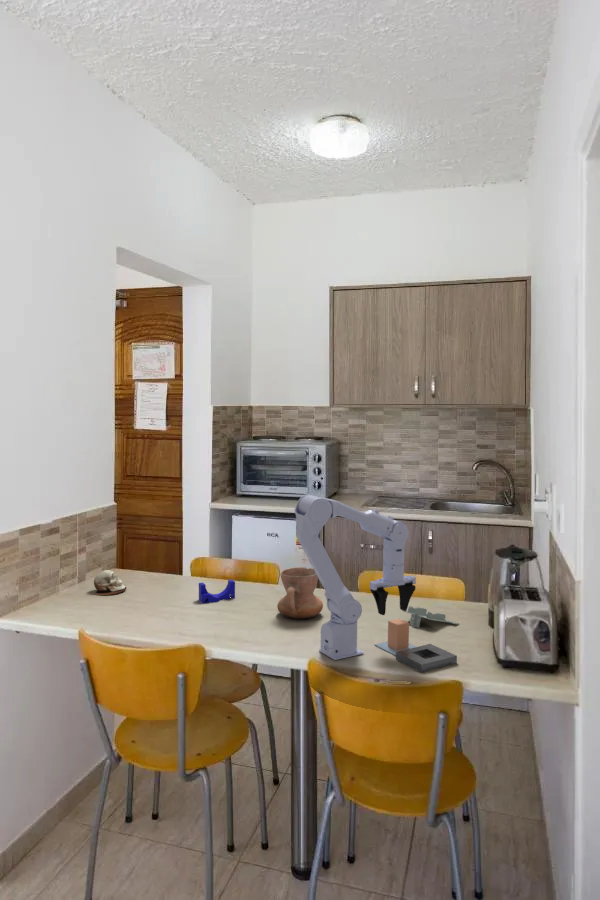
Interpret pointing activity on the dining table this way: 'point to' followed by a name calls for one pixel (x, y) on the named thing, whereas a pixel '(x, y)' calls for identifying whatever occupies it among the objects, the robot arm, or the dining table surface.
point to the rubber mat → (391, 650)
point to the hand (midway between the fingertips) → (392, 612)
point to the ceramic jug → (299, 593)
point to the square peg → (398, 634)
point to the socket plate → (434, 661)
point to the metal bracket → (425, 616)
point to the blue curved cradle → (208, 597)
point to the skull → (108, 583)
